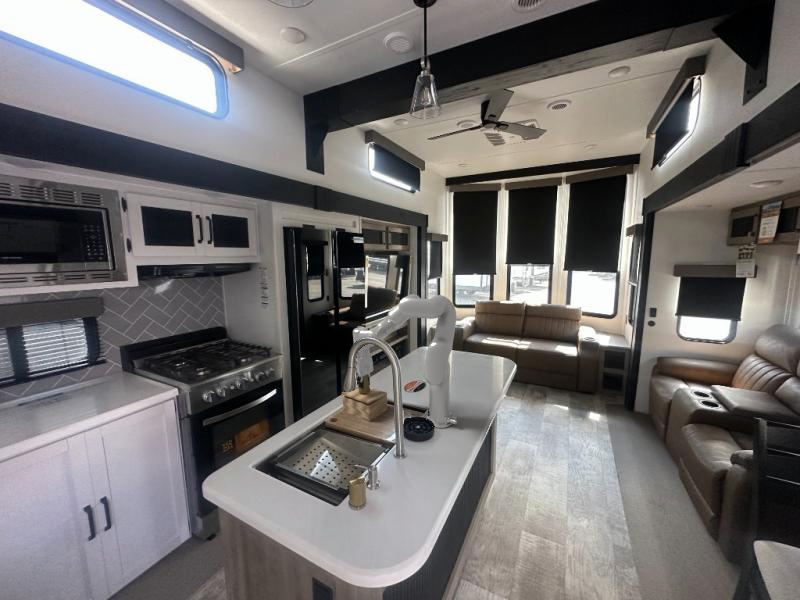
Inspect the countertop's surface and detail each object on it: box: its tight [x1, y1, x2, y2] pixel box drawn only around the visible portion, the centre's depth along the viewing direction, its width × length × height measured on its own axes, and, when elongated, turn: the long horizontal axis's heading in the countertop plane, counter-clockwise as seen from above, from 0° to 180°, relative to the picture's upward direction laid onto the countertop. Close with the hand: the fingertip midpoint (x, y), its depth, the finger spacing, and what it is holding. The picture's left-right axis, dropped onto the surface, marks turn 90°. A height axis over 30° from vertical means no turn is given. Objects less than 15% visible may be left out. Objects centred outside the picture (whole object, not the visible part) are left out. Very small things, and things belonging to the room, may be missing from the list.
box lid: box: [341, 385, 388, 404], centre depth 158 cm, size 18×14×1 cm
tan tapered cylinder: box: [359, 374, 371, 393], centre depth 157 cm, size 6×6×11 cm
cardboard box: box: [342, 394, 389, 422], centre depth 159 cm, size 18×14×8 cm
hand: (364, 386), depth 157 cm, fingers closed on tan tapered cylinder, 3 cm apart
